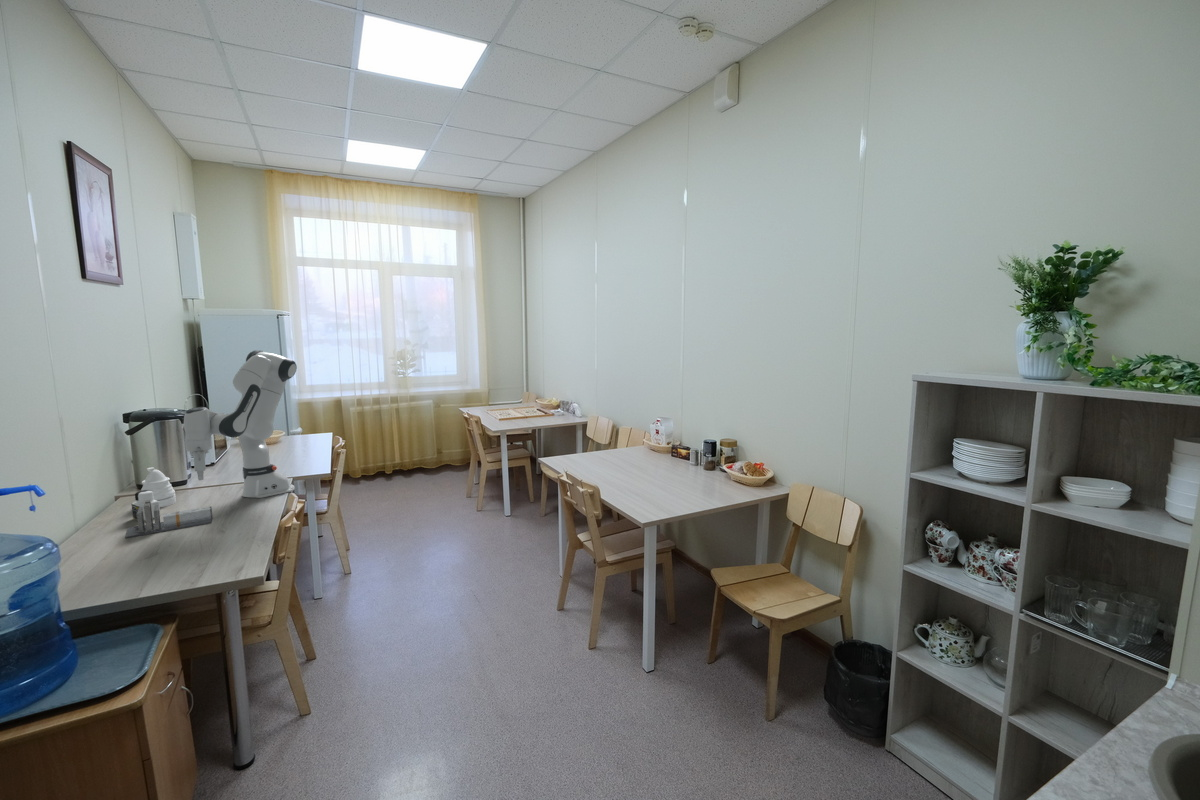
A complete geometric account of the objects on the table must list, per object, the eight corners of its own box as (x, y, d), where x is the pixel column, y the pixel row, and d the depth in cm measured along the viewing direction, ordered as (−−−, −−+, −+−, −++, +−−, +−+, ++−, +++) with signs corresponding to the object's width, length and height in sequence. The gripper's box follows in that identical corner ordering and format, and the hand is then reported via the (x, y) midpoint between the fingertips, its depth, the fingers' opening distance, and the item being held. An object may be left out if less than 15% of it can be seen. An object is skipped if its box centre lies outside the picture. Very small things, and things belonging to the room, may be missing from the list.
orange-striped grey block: (212, 515, 224) (211, 506, 224) (212, 518, 221) (211, 509, 220) (164, 524, 214) (163, 513, 214) (164, 527, 211) (163, 517, 210)
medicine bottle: (132, 518, 222) (129, 492, 220) (153, 513, 228) (150, 487, 226) (140, 521, 218) (137, 494, 217) (160, 516, 225) (158, 490, 223)
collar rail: (210, 515, 227) (208, 490, 225) (211, 522, 218) (209, 497, 216) (128, 529, 210) (125, 502, 209) (125, 538, 201) (122, 510, 199)
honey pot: (159, 509, 234) (155, 470, 232) (132, 508, 234) (127, 470, 232) (183, 500, 247) (179, 463, 244) (157, 499, 247) (153, 463, 245)
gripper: (208, 449, 211) (210, 481, 213) (207, 440, 227) (209, 471, 229) (188, 450, 208) (191, 483, 209) (189, 442, 223) (191, 473, 225)
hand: (200, 477), depth 219 cm, fingers open, 8 cm apart
